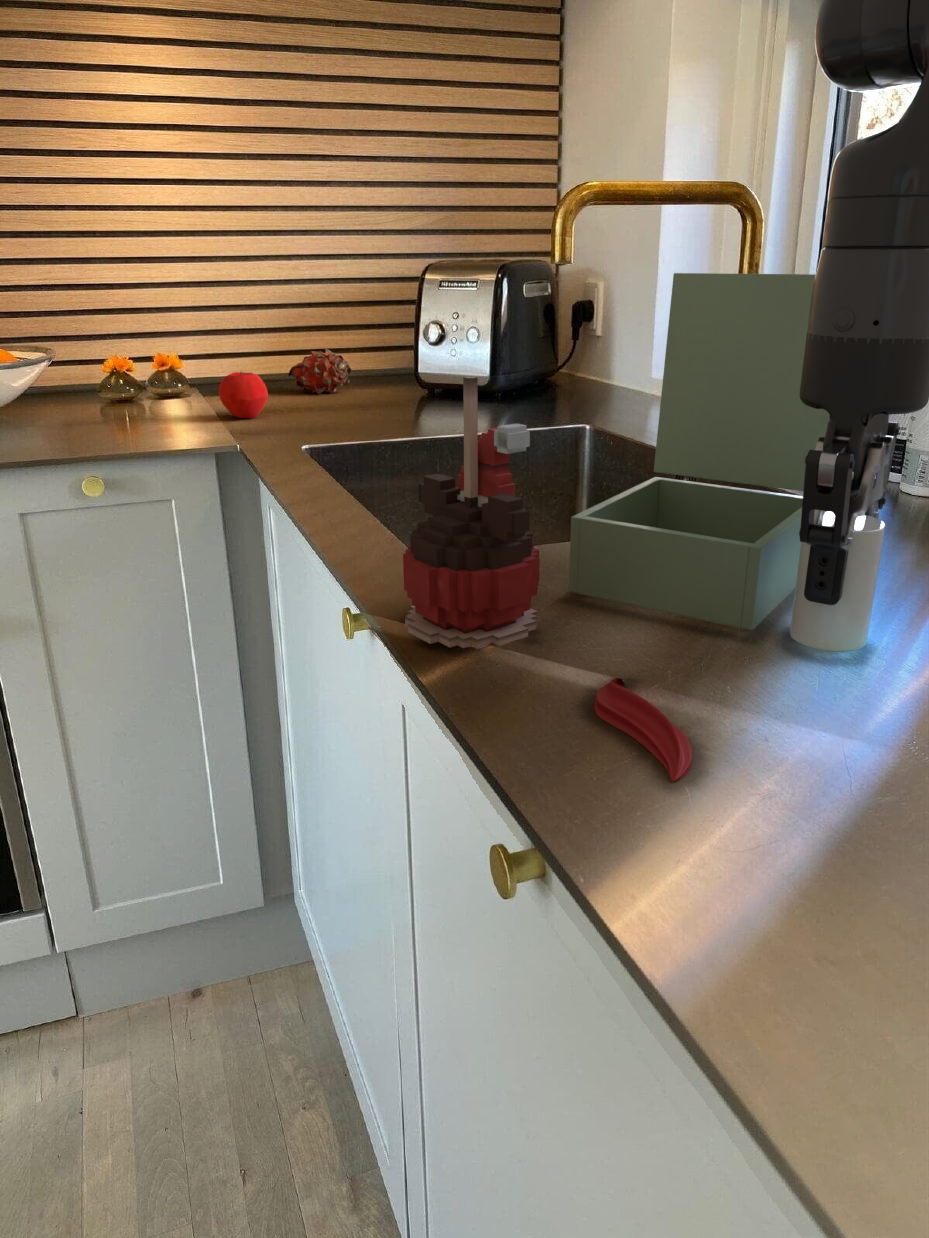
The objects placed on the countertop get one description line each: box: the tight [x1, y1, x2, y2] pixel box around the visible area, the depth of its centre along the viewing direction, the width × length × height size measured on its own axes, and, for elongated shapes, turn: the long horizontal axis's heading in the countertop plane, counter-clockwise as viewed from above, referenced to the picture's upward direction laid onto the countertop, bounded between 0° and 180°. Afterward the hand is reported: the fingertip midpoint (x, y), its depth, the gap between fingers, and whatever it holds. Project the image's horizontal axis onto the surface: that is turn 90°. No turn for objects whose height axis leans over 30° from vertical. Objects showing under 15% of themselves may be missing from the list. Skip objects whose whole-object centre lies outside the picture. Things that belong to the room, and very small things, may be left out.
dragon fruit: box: [287, 348, 352, 395], centre depth 177 cm, size 8×8×12 cm
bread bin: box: [568, 476, 803, 631], centre depth 75 cm, size 16×15×7 cm
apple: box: [218, 370, 269, 419], centre depth 152 cm, size 8×8×7 cm
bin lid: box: [653, 272, 830, 492], centre depth 78 cm, size 16×15×5 cm
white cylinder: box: [789, 511, 887, 652], centre depth 63 cm, size 5×5×9 cm
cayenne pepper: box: [593, 677, 693, 783], centre depth 54 cm, size 12×5×2 cm, turn 179°
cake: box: [402, 375, 540, 650], centre depth 65 cm, size 11×9×18 cm
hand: (834, 587), depth 63 cm, fingers open, 5 cm apart
